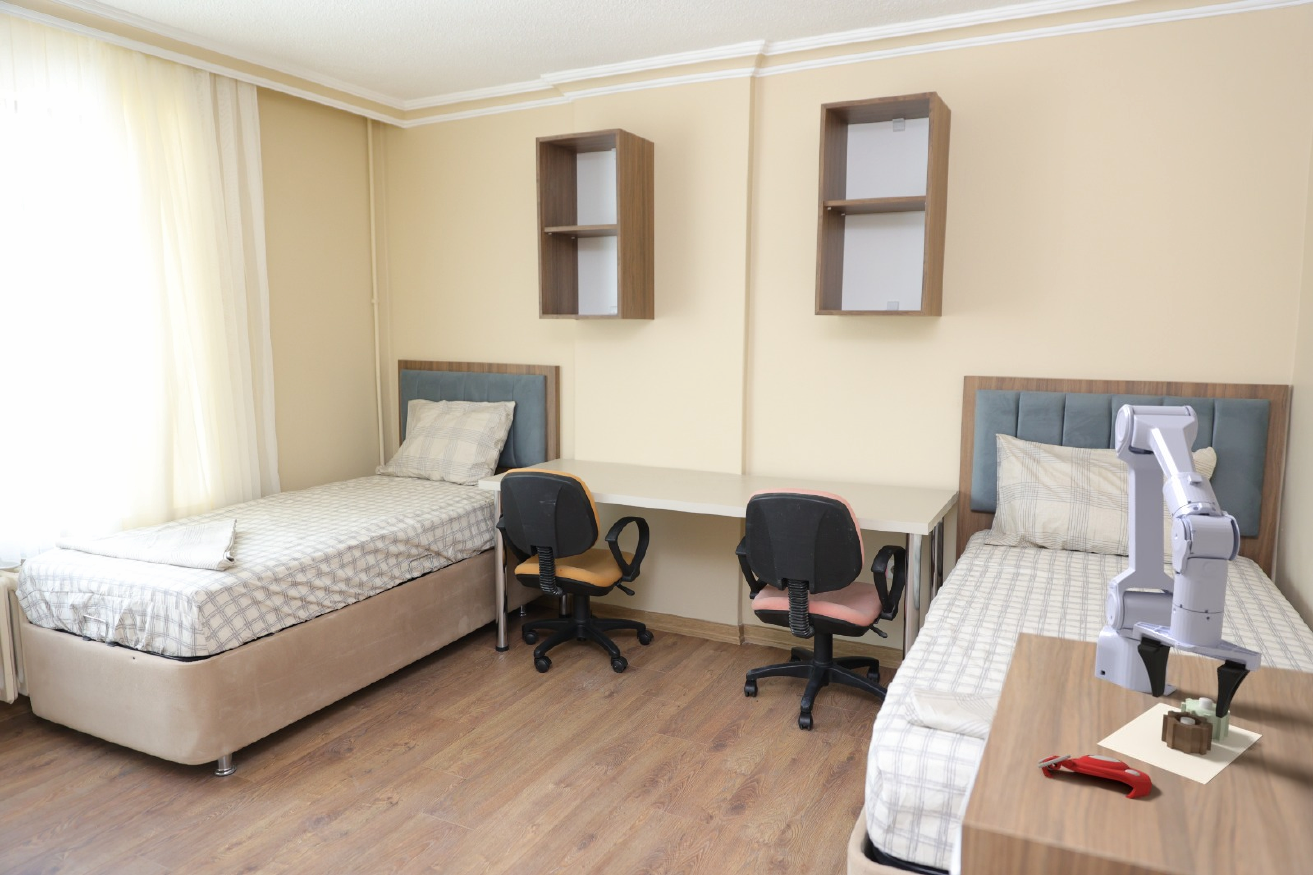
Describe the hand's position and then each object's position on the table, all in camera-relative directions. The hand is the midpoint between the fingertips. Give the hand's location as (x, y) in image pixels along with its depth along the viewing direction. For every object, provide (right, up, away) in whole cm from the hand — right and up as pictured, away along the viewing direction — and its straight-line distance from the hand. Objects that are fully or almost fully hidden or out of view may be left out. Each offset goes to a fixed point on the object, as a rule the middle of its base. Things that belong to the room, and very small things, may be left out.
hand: (1188, 705), depth 116 cm
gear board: (0, -6, +2) cm, 7 cm away
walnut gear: (0, -6, +1) cm, 6 cm away
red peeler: (-16, -8, -6) cm, 19 cm away
